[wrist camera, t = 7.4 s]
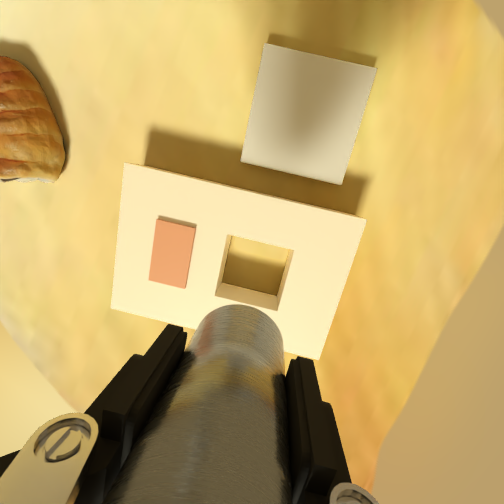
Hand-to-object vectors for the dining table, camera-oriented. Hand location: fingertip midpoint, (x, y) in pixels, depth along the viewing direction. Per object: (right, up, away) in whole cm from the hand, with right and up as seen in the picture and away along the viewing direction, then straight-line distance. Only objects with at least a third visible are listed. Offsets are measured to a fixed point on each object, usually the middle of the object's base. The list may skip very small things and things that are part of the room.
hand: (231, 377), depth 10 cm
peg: (0, 0, +2) cm, 2 cm away
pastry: (-18, +15, +13) cm, 27 cm away
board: (-1, +4, +14) cm, 14 cm away
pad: (+5, +15, +10) cm, 19 cm away
